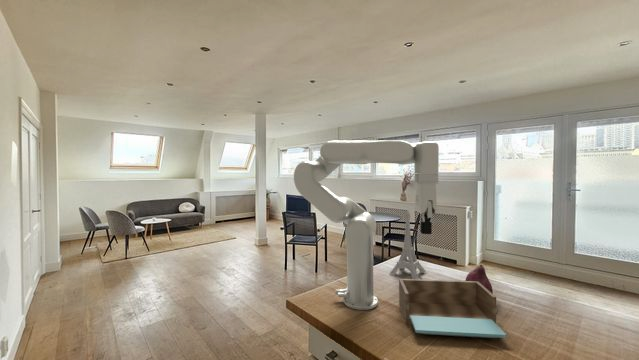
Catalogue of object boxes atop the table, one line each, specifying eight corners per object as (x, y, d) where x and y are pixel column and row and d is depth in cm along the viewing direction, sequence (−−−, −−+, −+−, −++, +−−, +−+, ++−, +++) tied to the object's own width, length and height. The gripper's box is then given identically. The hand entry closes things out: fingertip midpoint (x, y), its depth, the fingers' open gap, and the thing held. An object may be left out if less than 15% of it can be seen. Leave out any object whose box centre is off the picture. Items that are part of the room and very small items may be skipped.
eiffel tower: (426, 272, 129) (426, 209, 129) (417, 281, 119) (417, 213, 118) (399, 267, 137) (399, 207, 137) (388, 274, 127) (388, 210, 126)
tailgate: (409, 319, 85) (415, 334, 77) (409, 315, 85) (415, 329, 77) (491, 323, 83) (506, 340, 75) (491, 319, 82) (506, 334, 75)
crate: (405, 323, 86) (405, 293, 85) (399, 305, 97) (399, 278, 97) (496, 328, 82) (496, 297, 82) (478, 308, 94) (478, 281, 94)
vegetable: (496, 313, 98) (507, 277, 93) (465, 306, 100) (474, 271, 95) (486, 293, 107) (495, 260, 103) (458, 288, 109) (466, 255, 105)
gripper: (410, 178, 99) (410, 228, 100) (419, 179, 84) (419, 238, 85) (431, 178, 98) (431, 229, 99) (445, 179, 83) (444, 239, 84)
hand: (425, 233), depth 92 cm, fingers closed
